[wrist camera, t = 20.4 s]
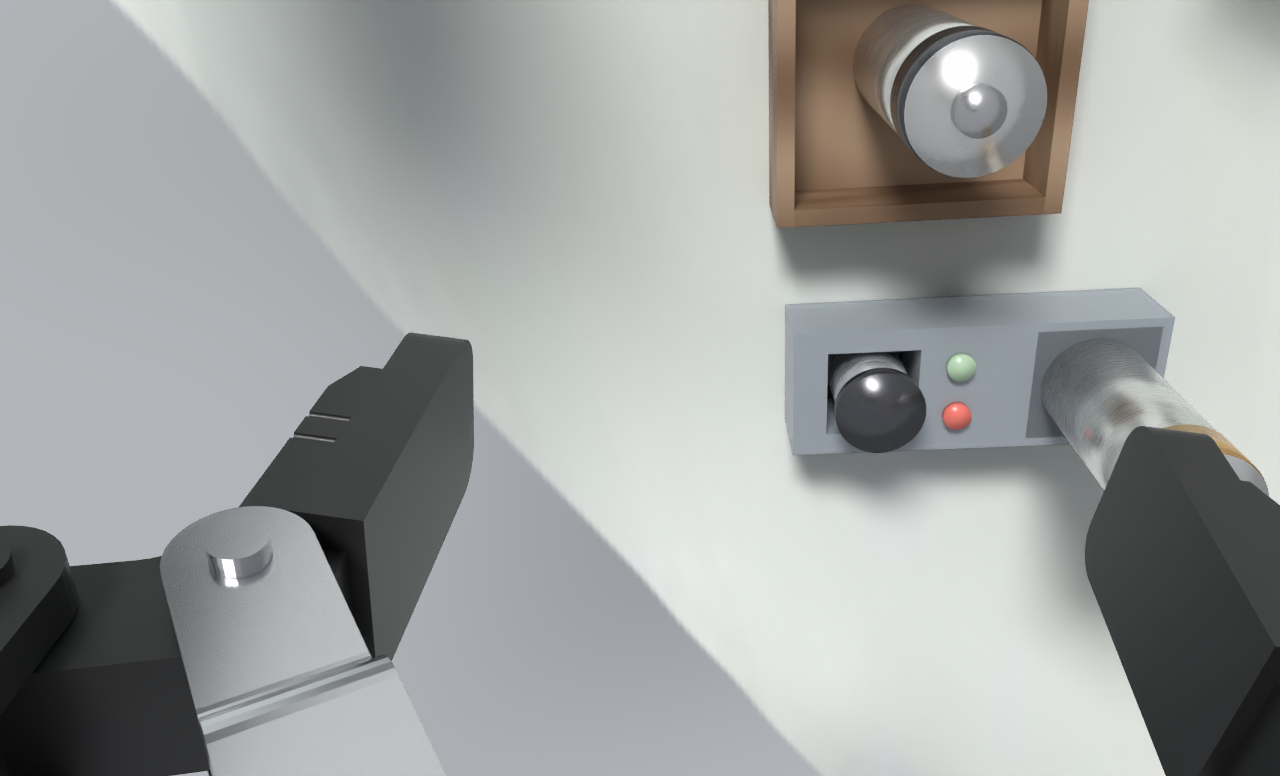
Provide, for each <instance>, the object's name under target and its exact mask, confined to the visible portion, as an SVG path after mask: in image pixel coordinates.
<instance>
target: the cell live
mask: <svg viewBox="0 0 1280 776" xmlns="http://www.w3.org/2000/svg"><path fill="white" fill-rule="evenodd" d="M1041 398H1042V402H1043V405H1044V407H1045V409H1046V410H1047V412H1048V413H1049V415H1050V416H1051V418H1052V419H1053V420H1054V422H1055V423H1056V424H1057V426H1058V427H1059V429H1060V430H1061V431H1062V433H1063V434H1064V436H1065V437H1066V438H1067V440H1068V441H1069V442H1070V444H1071V445H1072V447H1073V448H1074V449H1075V451H1076V452H1077V453H1078V455H1079V456H1080V458H1081V459H1082V460H1083V462H1084V463H1085V465H1086V466H1087V467H1088V469H1089V470H1090V471H1091V473H1092V474H1093V476H1094V477H1095V478H1096V480H1097V481H1098V482H1099V484H1100V485H1101V487H1102V488H1103V489H1104V490H1105V488H1106V486H1107V483H1108V481H1109V479H1110V476H1111V474H1112V471H1113V469H1114V467H1115V464H1116V462H1117V459H1118V457H1119V455H1120V452H1121V450H1122V447H1123V445H1124V443H1125V441H1126V439H1127V437H1128V436H1129V434H1130V433H1131V432H1132V431H1133V430H1134V429H1135V428H1136V427H1139V426H1147V427H1155V428H1163V429H1171V430H1178V431H1186V432H1194V433H1201V434H1206V435H1209V436H1210V437H1211V438H1212V439H1213V440H1214V441H1215V442H1216V444H1217V446H1218V447H1219V449H1220V450H1221V452H1222V453H1223V455H1224V456H1225V458H1226V459H1227V461H1228V462H1229V464H1230V465H1231V467H1232V468H1233V470H1234V471H1235V473H1236V474H1237V476H1238V477H1239V479H1240V480H1242V481H1249V482H1251V483H1252V484H1254V485H1255V486H1256V487H1257V488H1259V489H1260V490H1261V491H1262V492H1264V493H1265V494H1266V495H1267V496H1269V493H1268V488H1267V485H1266V482H1265V480H1264V478H1263V476H1262V475H1261V473H1260V472H1259V470H1258V469H1257V468H1256V467H1255V466H1254V465H1253V464H1252V463H1251V462H1250V461H1249V460H1248V459H1247V458H1246V457H1245V456H1244V455H1243V454H1242V453H1241V452H1240V451H1239V450H1238V449H1237V448H1236V447H1235V446H1234V445H1233V444H1232V443H1231V442H1230V441H1229V440H1227V439H1226V438H1225V437H1224V436H1223V435H1222V434H1220V433H1219V432H1217V431H1216V430H1215V429H1214V428H1213V427H1212V426H1211V425H1210V424H1209V423H1208V422H1207V421H1206V420H1205V419H1204V418H1203V417H1202V416H1201V415H1200V414H1199V413H1198V412H1197V411H1196V410H1195V409H1194V408H1193V407H1192V406H1191V405H1190V404H1189V403H1188V402H1187V401H1186V400H1185V399H1184V398H1183V397H1182V396H1181V395H1180V394H1179V393H1178V392H1177V391H1176V390H1175V389H1174V388H1173V387H1172V386H1171V385H1170V384H1169V383H1168V382H1167V381H1165V380H1164V379H1163V378H1162V377H1161V376H1160V375H1159V374H1158V373H1157V372H1156V371H1155V370H1154V369H1153V368H1152V367H1151V366H1150V365H1149V364H1148V363H1147V362H1146V361H1145V360H1144V359H1143V358H1142V357H1141V356H1140V355H1139V354H1138V353H1137V352H1136V351H1135V350H1134V349H1133V348H1132V347H1130V346H1129V345H1127V344H1126V343H1124V342H1121V341H1119V340H1115V339H1110V338H1094V339H1089V340H1085V341H1082V342H1079V343H1077V344H1074V345H1072V346H1071V347H1069V348H1067V349H1066V350H1064V351H1063V352H1062V353H1060V354H1059V355H1058V356H1057V357H1056V358H1055V359H1054V360H1053V361H1052V363H1051V364H1050V365H1049V367H1048V368H1047V370H1046V372H1045V374H1044V377H1043V380H1042V384H1041Z"/></svg>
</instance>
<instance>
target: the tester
mask: <svg viewBox="0 0 1280 776" xmlns="http://www.w3.org/2000/svg"><path fill="white" fill-rule="evenodd" d="M1174 320H1175V317H1174V316H1173V315H1172V314H1171V313H1169V312H1168V311H1167V310H1166V309H1165V308H1163V307H1162V306H1161V305H1160V304H1159V303H1158V302H1156V301H1155V300H1154V299H1153V298H1152V297H1150V296H1149V295H1148V294H1147V293H1146V292H1144V291H1143V290H1142V289H1141V288H1125V289H1104V290H1083V291H1062V292H1041V293H1020V294H999V295H978V296H957V297H936V298H915V299H894V300H873V301H852V302H831V303H810V304H789V305H785V421H786V425H787V430H788V435H789V439H790V444H791V449H792V453H793V455H806V454H832V453H857V452H866V451H862V450H859V449H857V448H855V447H853V446H852V445H850V444H849V443H848V442H847V441H846V440H845V439H844V438H843V437H842V435H841V434H840V432H839V429H838V427H837V424H836V420H835V416H834V404H835V402H834V399H827V384H828V354H846V353H868V352H891V351H903V352H902V364H903V366H904V368H905V370H906V372H907V374H908V375H909V376H910V377H911V378H912V379H913V380H914V381H915V382H916V383H917V385H918V386H919V388H920V390H921V392H922V394H923V396H924V398H925V401H926V418H925V421H924V424H923V426H922V428H921V430H920V431H919V433H918V434H917V435H916V436H915V437H914V438H913V439H912V440H911V441H910V442H909V443H907V444H906V445H904V446H902V447H900V448H898V449H896V450H893V451H908V450H934V449H959V448H985V447H1010V446H1036V445H1062V444H1070V442H1069V441H1068V440H1067V438H1066V437H1065V436H1064V434H1063V433H1062V431H1061V430H1060V429H1059V427H1058V426H1057V424H1056V423H1055V422H1054V420H1053V419H1052V418H1051V416H1050V415H1049V413H1048V412H1047V410H1046V409H1045V407H1044V405H1043V402H1042V398H1041V384H1042V380H1043V377H1044V374H1045V372H1046V370H1047V368H1048V367H1049V365H1050V364H1051V363H1052V361H1053V360H1054V359H1055V358H1056V357H1057V356H1058V355H1059V354H1060V353H1062V352H1063V351H1064V350H1066V349H1067V348H1069V347H1071V346H1072V345H1074V344H1077V343H1079V342H1082V341H1085V340H1089V339H1094V338H1110V339H1115V340H1119V341H1121V342H1124V343H1126V344H1127V345H1129V346H1130V347H1132V348H1133V349H1134V350H1135V351H1136V352H1137V353H1138V354H1139V355H1140V356H1141V357H1142V358H1143V359H1144V360H1145V361H1146V362H1147V363H1148V364H1149V365H1150V366H1151V367H1152V368H1153V369H1154V370H1155V371H1156V372H1157V373H1158V374H1159V375H1160V376H1161V377H1162V378H1164V372H1165V367H1166V362H1167V357H1168V352H1169V346H1170V341H1171V336H1172V331H1173V325H1174Z"/></svg>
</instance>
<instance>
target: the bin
mask: <svg viewBox="0 0 1280 776" xmlns="http://www.w3.org/2000/svg"><path fill="white" fill-rule="evenodd" d="M1088 2H1089V0H769V178H770V207H771V210H772V213H773V217H774V220H775V223H776V226H777V228H787V227H807V226H826V225H845V224H864V223H884V222H903V221H922V220H942V219H961V218H980V217H999V216H1019V215H1038V214H1057V213H1061V211H1062V203H1063V195H1064V188H1065V180H1066V172H1067V164H1068V157H1069V149H1070V141H1071V134H1072V126H1073V118H1074V110H1075V103H1076V95H1077V87H1078V79H1079V72H1080V64H1081V56H1082V49H1083V41H1084V33H1085V25H1086V18H1087V10H1088ZM905 4H923V5H927V6H931V7H934V8H936V9H938V10H941V11H943V12H945V13H948V14H950V15H952V16H955V17H957V18H959V19H962V20H964V21H966V22H969V23H971V24H974V25H976V26H978V27H983V28H986V29H990V30H992V31H994V32H997V33H999V34H1002V35H1004V36H1006V37H1009V38H1011V39H1013V40H1015V41H1017V42H1019V43H1020V44H1021V45H1023V46H1024V47H1025V48H1027V49H1028V50H1029V51H1030V52H1031V53H1032V55H1033V56H1034V57H1035V58H1036V60H1037V62H1038V63H1039V65H1040V67H1041V69H1042V72H1043V74H1044V77H1045V82H1046V86H1047V107H1046V112H1045V116H1044V120H1043V123H1042V125H1041V127H1040V130H1039V132H1038V134H1037V135H1036V137H1035V139H1034V140H1033V142H1032V143H1031V144H1030V146H1029V147H1028V148H1027V149H1026V150H1025V151H1024V152H1023V153H1022V155H1021V156H1019V157H1018V158H1017V159H1016V160H1015V161H1013V162H1012V163H1010V164H1009V165H1007V166H1006V167H1004V168H1002V169H1000V170H998V171H996V172H993V173H991V174H988V175H984V176H980V177H973V178H958V177H951V176H947V175H944V174H941V173H938V172H936V171H934V170H932V169H931V168H929V167H928V166H926V165H925V164H924V163H923V162H922V161H920V160H919V159H918V157H917V156H916V155H915V154H914V153H913V152H912V151H911V150H910V149H909V148H908V147H907V146H906V145H905V143H904V142H903V141H902V140H901V138H900V137H899V135H898V134H897V133H896V132H895V131H894V130H893V129H892V128H891V127H890V126H889V125H888V124H887V123H886V122H885V121H884V119H883V118H882V117H881V116H880V115H879V114H878V113H877V112H876V111H875V110H874V109H873V108H872V107H871V106H870V105H869V104H868V103H867V102H866V100H865V99H864V98H863V97H862V95H861V94H860V92H859V90H858V88H857V85H856V82H855V79H854V73H853V61H854V55H855V50H856V47H857V44H858V42H859V40H860V38H861V36H862V34H863V33H864V31H865V30H866V28H867V27H868V26H869V25H870V24H871V23H872V22H873V21H874V20H875V19H876V18H877V17H878V16H880V15H881V14H882V13H884V12H886V11H888V10H890V9H892V8H894V7H897V6H901V5H905Z"/></svg>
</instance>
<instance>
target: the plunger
mask: <svg viewBox="0 0 1280 776" xmlns="http://www.w3.org/2000/svg"><path fill="white" fill-rule="evenodd" d="M828 383H829V386H830V389H831V392H832V395H833V399H834V402H835V404H834V416H835V420H836V424H837V427H838V429H839V432H840V434H841V435H842V437H843V438H844V439H845V440H846V441H847V442H848V443H849V444H850V445H852V446H853V447H855V448H857V449H859V450H862V451H866V452H872V453H883V452H889V451H893V450H896V449H898V448H900V447H902V446H904V445H906V444H907V443H909V442H910V441H911V440H912V439H913V438H914V437H915V436H916V435H917V434H918V433H919V431H920V430H921V428H922V426H923V424H924V421H925V418H926V401H925V398H924V396H923V394H922V392H921V390H920V388H919V386H918V385H917V383H916V382H915V381H914V380H913V379H912V378H911V377H910V376H909V375H908V374H907V372H906V370H905V368H904V366H903V364H902V362H901V360H900V358H899V356H898V354H897V352H896V351H891V352H868V353H846V354H828Z"/></svg>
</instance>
